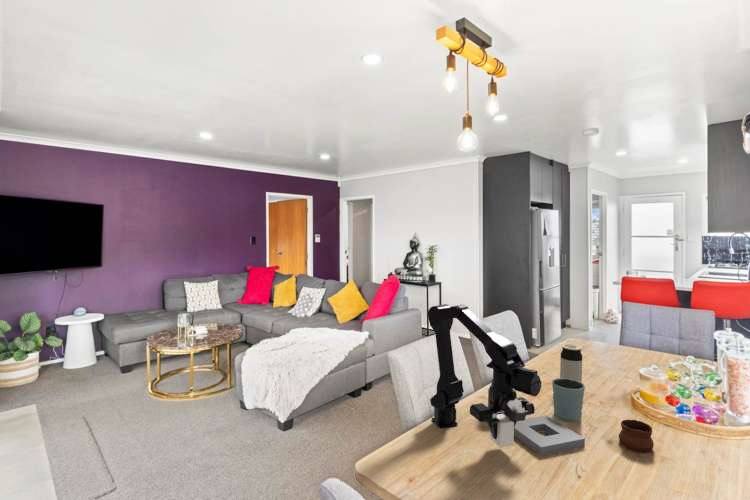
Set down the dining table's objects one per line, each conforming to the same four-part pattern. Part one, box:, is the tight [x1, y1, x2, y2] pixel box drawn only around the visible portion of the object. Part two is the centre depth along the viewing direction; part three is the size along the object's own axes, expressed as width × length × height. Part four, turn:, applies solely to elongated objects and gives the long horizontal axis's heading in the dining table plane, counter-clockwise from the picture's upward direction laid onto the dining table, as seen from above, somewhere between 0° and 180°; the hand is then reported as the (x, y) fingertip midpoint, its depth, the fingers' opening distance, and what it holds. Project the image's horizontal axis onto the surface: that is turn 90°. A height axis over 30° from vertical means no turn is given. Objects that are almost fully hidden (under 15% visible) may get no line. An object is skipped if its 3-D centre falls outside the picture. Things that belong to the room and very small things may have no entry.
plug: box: [489, 414, 515, 448], centre depth 116 cm, size 4×5×7 cm
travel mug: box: [559, 343, 583, 383], centre depth 161 cm, size 8×8×18 cm
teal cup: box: [551, 377, 586, 424], centre depth 137 cm, size 10×10×12 cm
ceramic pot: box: [618, 419, 655, 463], centre depth 119 cm, size 18×18×7 cm
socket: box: [514, 414, 586, 456], centre depth 123 cm, size 16×16×2 cm
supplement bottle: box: [487, 378, 505, 415], centre depth 139 cm, size 7×7×12 cm
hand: (501, 437), depth 116 cm, fingers closed on plug, 4 cm apart
